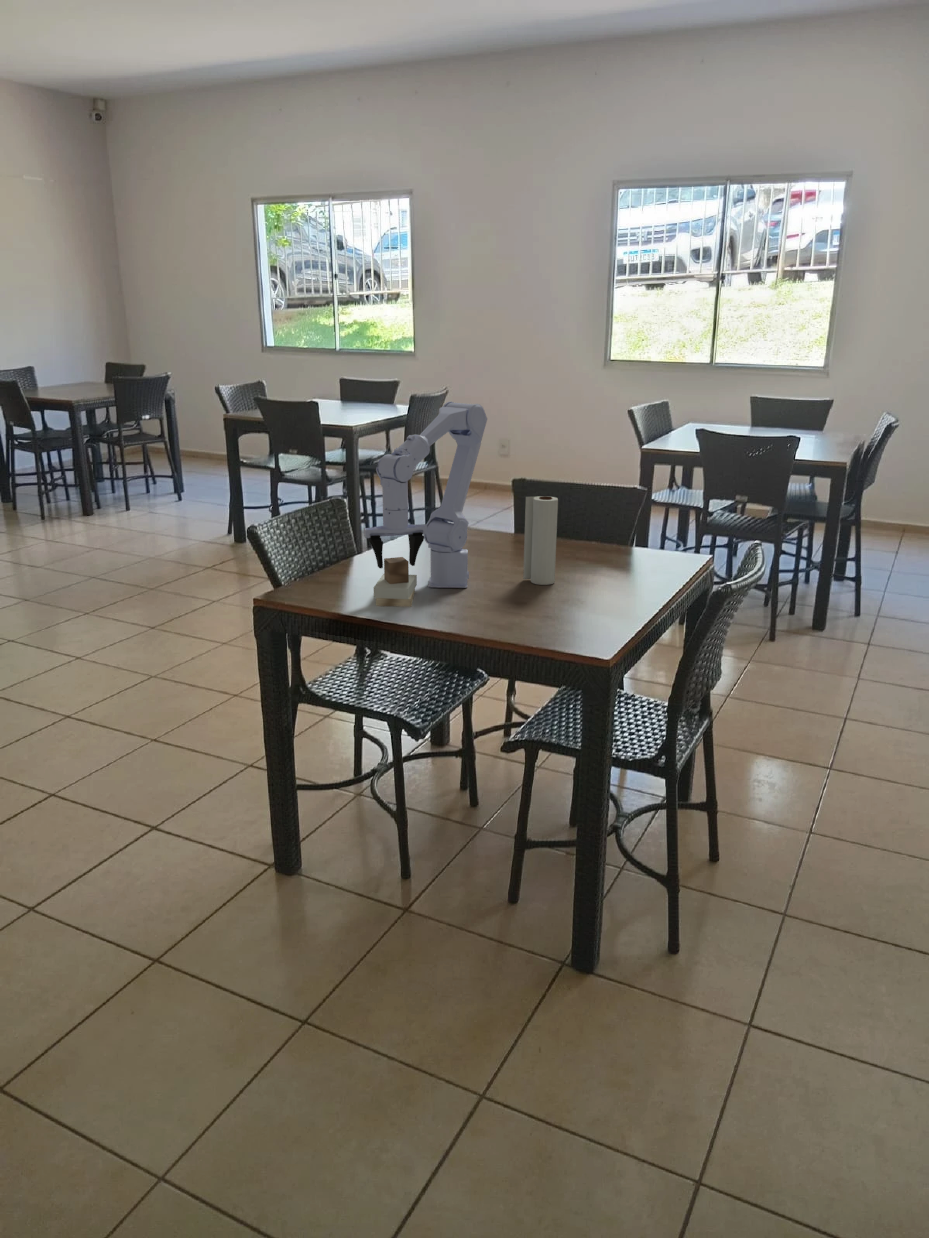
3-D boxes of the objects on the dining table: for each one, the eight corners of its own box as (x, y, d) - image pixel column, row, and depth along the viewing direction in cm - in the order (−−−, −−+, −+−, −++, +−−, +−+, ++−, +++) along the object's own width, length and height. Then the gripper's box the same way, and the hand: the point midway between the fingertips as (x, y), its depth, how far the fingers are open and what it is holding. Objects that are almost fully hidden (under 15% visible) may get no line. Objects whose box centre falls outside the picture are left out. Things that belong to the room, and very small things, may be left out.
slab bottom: (414, 594, 222) (414, 584, 221) (411, 609, 210) (411, 598, 209) (381, 594, 222) (381, 584, 221) (376, 608, 210) (376, 598, 210)
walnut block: (402, 577, 217) (402, 556, 216) (408, 582, 213) (408, 561, 212) (384, 579, 216) (384, 558, 214) (390, 584, 212) (389, 563, 210)
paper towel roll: (559, 583, 229) (563, 498, 223) (539, 586, 226) (542, 500, 220) (542, 576, 235) (545, 493, 229) (523, 580, 232) (525, 495, 226)
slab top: (416, 584, 220) (416, 574, 220) (408, 599, 209) (408, 588, 208) (383, 583, 221) (383, 573, 220) (373, 597, 210) (373, 587, 209)
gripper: (420, 503, 215) (421, 559, 219) (360, 506, 210) (361, 564, 215) (429, 508, 209) (430, 566, 213) (367, 512, 204) (368, 571, 208)
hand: (396, 566), depth 213 cm, fingers open, 7 cm apart
